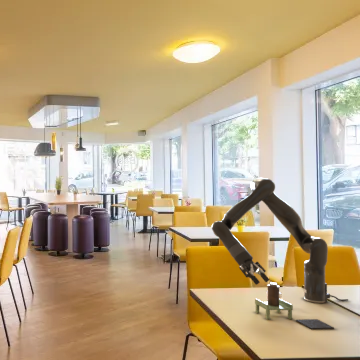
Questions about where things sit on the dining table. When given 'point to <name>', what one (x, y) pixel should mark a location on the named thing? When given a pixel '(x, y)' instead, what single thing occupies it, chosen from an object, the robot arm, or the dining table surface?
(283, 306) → the tray
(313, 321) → the mat
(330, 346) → the dining table surface
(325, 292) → the robot arm
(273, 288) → the brown bottle
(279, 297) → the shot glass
